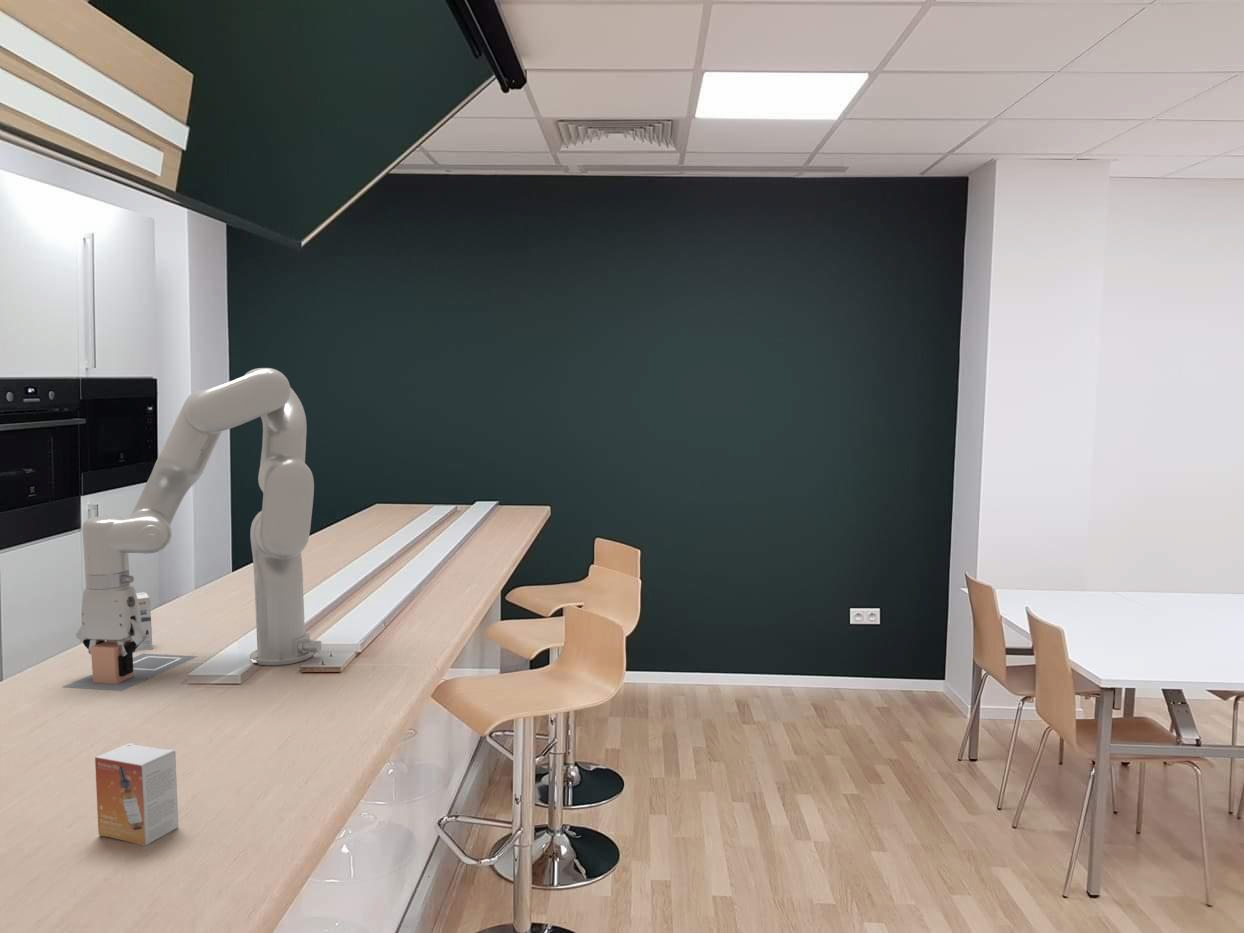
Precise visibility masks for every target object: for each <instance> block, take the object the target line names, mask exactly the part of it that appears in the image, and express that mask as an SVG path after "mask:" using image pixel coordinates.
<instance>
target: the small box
mask: <svg viewBox="0 0 1244 933" xmlns="http://www.w3.org/2000/svg"><path fill="white" fill-rule="evenodd" d="M176 757H177V756H176V750H174V749H164V748H160V747H159V748H158V747H152V746H146V745H141V744H136V743H133V742H132V743H131V742H129V743H126V744H123V745H121V746H118V747H117V748H115V749H112V750H109V751H106V752H105V753H102V754H100V755H97V756H95V758H94V763H95V784H96V787H95V788H96V789H95V790H96V803H97V804H96V810H97V827H98V828H97V832H98V836H101V837H107V838H112V839H115V840H119V841H120V840H121V841H125V842H128V843H133V844H136V845H137V844H138V845H140V846H143V847H145V846H147V845H149V844H151V843H152V842H154V841H156V840H158V839H160V838H162V837H164V836H165V835H167V834H168V833H169V834H170V833H171V832H173V831H174V830H176V829H178V828H179V810H178V808H179V807H178V804H179V803H178V786H177V785H178V783H177V782H178V779H177V761H176Z"/></svg>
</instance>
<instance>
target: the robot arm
mask: <svg viewBox="0 0 1244 933" xmlns="http://www.w3.org/2000/svg"><path fill="white" fill-rule="evenodd" d="M257 418H260V419H261V423H262V445H261V446H262V447H261V453H260V454H261V455H260V466H259V470H258V475H257V476H258V477H257V478H258V479H257V480H258V481H257V482H258V486H259V488H260V490H261V491H262V493H263V494H262V495H263V496H262V508H261V511H259V512H257V514H256V515H255V516H254V518H253V520H252V522H251V526H250V533H249V534H250V535H249V536H250V545H251V552H252V563H253V578H254V579H253V580H254V582H253V583H254V602H255V622H256V624H255V625H256V642H257V644H256V646H257V647H256V648H257V649H255V650H254V651H252V652H250V654H249V660H250V659H253V660H256V661H257V663H258V664H257V665H260V666H281V665H282V666H284V665H291V664H296V663H299V662H304V661H306V660H309V659H310V658H312V657H313V656H314V654H315V653H320V652H321V651H322V641H321V640H312V639H311V634H310V633H306V626H305V604H304V603H305V602H304V600H305V598H304V575H303V574H304V572H303V571H304V570H303V560H302V558H303V557H302V552H303V551H304V549H305V548H306V547H307V545H308V541H309V538H310V532H311V524H312V516H313V515H312V514H313V505H314V492H315V482H314V481H315V480H314V475H313V472H312V470H311V469H310V467H309V466H308V465H307V464H306V450H307V433H308V432H307V430H308V428H307V426H308V425H307V416H306V413H305V409H304V406H303V404H302V402H301V400H300V398H299V397H298V395H297V393H296V392H295V391H294V389H293V388H292V387H291V385H290V382H289V380H288V378H287V377H286V376H285V375H284V373H282V372H281V371H279V370H277V369H275V368H271V367H259V368H254V369H253V368H252V369H251V370H248V371H247V372H246V373H245V374H244V375H243V376H240V377H237V378H235V379H233V380H229V381H228V382H225V383H222V384H219V385H216V386H213V387H210V388H207V389H200V390H196V391H194V392H192V393H191V394H189V396H187V398H186V399H185V401H184V403H183V405H182V407H181V409H180V411H179V413H178V416H177V418H176V420H175V422H174V424H173V426H172V428H171V431H170V432H169V434H168V436H167V438H166V439H165V443H164V445H163V447H162V450H161V451H160V453H159V455H158V458H157V459H156V462H155V464H154V466H153V468H152V470H151V473H150V476H149V478H148V479H147V482H146V484H145V485H144V487H143V490H142V491H141V493H140V495H139V498H138V500H137V502H136V504H135V506H134V508H133V509H132V512H131V514H130V517H129V518H123V516H116V515H105V516H103V515H102V516H94V517H90V518H88V519H87V518H86V519H85V521H83V523H82V546H83V558H84V559H83V562H84V572H85V574H84V576H85V588H84V589H83V593H82V599H81V611H80V612H81V613H80V614H81V618H80V619H81V625H80V628H79V629H78V630H77V632H76V634H75V636H76V638H77V639H78V640H80V642H81V643H82V645H84V646H85V648H86V649H87V652H88V654H89V655H91V647H92V646H94V645H97V644H100V643H102V642H105V641H106V640H108V641H117V644H118V647H119V650H120V653H121V656H118V661H119V675H120V676H125V675H128V674H130V673H132V672H133V658H134V657H133V656H134V655H133V654H134V653H135V652H136V651H137V650H136V648H137V647H138V646H139V645H140V644H141V643H142V642H143V641H144V640H145V639H146V638H147V636H146V634H145V633H144V632H143V631H142V625H141V616H140V608H139V603H138V598H137V595H136V593H137V592H136V589H135V587H134V586H132V585H131V584H132V583H133V582H134V581H135V578H134V576H133V575H130V563H129V560H130V559H129V554H146V555H147V554H155V553H158V552H160V551H161V552H162V551H163V550H164V549H165V548H166V547H167V546H168V545H169V544H170V542H171V540H172V528H171V524H172V523H173V520H174V517H175V516H176V513H177V511H178V510H179V507H180V505H181V504H182V501H183V499H184V497H185V496H186V494H187V493H188V491H190V488H192V486H193V485H195V483H197V482H198V481H199V479H200V477H201V476H202V474H204V471H205V469H206V467H207V464H208V463H209V460H210V458H211V456H212V453H213V451H214V449H215V447H216V444H217V443H218V440H219V438H220V436H221V435H222V433H223V432H224V431H227V430H230V429H233V428H236V427H237V426H241V425H243V424H246V423H248V422H251V421H253V420H255V419H257ZM132 636H135V639H134V640H133V639H132ZM125 641H126V644H127V646H126V645H125ZM135 650H136V651H135Z"/></svg>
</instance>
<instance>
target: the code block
mask: <svg viewBox="0 0 1244 933" xmlns="http://www.w3.org/2000/svg"><path fill="white" fill-rule="evenodd" d="M125 645H126V646H127V644H126V641H125ZM90 656H91V670H92V672H91V673H92V674H93V683H110V684H117V683H119V682H121V681H124V680H126V679H128V678H131V677H133V676H134V669H133V672H132V673H130V674H128V675H125V676H120V675H119V661H118V656H121V653H120V650H119V647H118V644H117V641H106V640H105V642H102V643H100V644H97V645H94V646H92V647H91V654H90Z"/></svg>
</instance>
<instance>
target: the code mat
mask: <svg viewBox="0 0 1244 933" xmlns="http://www.w3.org/2000/svg"><path fill="white" fill-rule="evenodd" d="M195 658H198V656H197V655H179V654H159V653H140V654H138V655H136V656H134V657H133V669H134V676H133V677H131V678H128V679H126V680H124V681H121V682H119V683H117V684H110V683H93V673H92V674H90V675H88V676H85V677H83V678H80V679H78V680H75V681H72V682H70V683H68V684H65V685H63V686H62V688H64V689H65V688H69V689H80V690H83V689H84V690H101V691H115V692H123V691H125V690H128V689H129V688H132V687H134V686H137V685H139V684H140V683H143V682H145V681H148V680H150V679H151V678H154V677H155V676H159V675H160V674H162V673H165V672H167V671H169V670H171V669H173V668H176V667H178V666H180V665H182V664H185V663H187V662H189V661H191V660H193V659H195Z"/></svg>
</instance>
